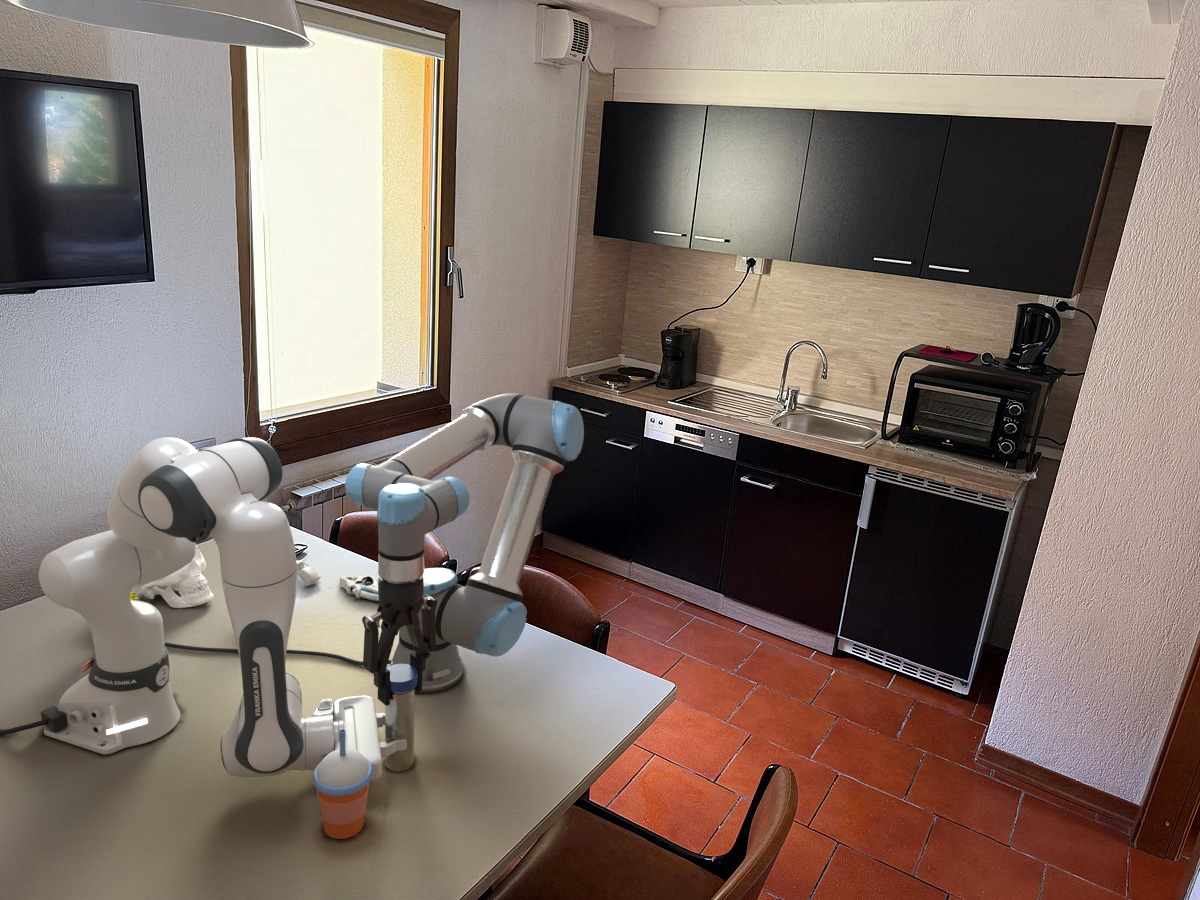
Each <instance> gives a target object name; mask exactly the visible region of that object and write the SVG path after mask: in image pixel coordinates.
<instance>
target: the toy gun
mask: <svg viewBox="0 0 1200 900" xmlns="http://www.w3.org/2000/svg"><path fill="white" fill-rule="evenodd" d="M338 583H339V586H340V587H341V588H343V589H345V590H346V593H347V594H348V595H354V596H355V598H356V599H361V598H362V599H365V600H369V601H375V602H379V597H378V580H376V578H375V577H374V576H372V575H369V574H368V575H362V576H361V575H360V576H350V577H345V576H340V577H339V581H338ZM367 583H370V584H369V585H366V584H367Z"/></svg>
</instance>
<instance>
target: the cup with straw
mask: <svg viewBox="0 0 1200 900" xmlns="http://www.w3.org/2000/svg"><path fill="white" fill-rule="evenodd" d="M372 774H373V769H372V765H371V763H370V762H369V760H368V759H366V758H365V757H364V756H363V755H362V754H361V753H360V752H358V751H356V750H354V749H350V748H346V738H345V730H344V729H342V730H340V749H337V750H334V751H332V752H331V753H329V754H328V755H327V756H325V757H324V759H323V760H322V761H321V762H320V763H319V764H318V766H317V767H316V768H315V770H313V774H312V782H313V785H314V787H315V789H316V791H317V800H318V807H319V812H320V817H321V819H322V825H323V826H322V827H323V830H324V833H325V834H326V836H328V837H330V838H331V839H336V840H344V839H348V838H352V837H354V836H355V835H357V834H358V833H360V831H362V829H363V827H364V823H365V814H366V811H367V806H368V797H369V788H370V787H369V786H370V782H371V781H370V780H371V778H372Z"/></svg>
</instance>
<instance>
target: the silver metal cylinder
mask: <svg viewBox="0 0 1200 900" xmlns="http://www.w3.org/2000/svg"><path fill="white" fill-rule="evenodd" d="M415 695H416V692H415V687H414V688H413V689H411V690H409V691H406V692H391V691H390V704H389V705H387V706H386V705H384V713H385V725H384V742H386V743H387V744H388V743H390V742H392V741H395V740H396V737H402V736H405V737H406V740H407V748H406V749H405V750H399V751H396V752H394V753H393V754H391V755H389V756H388V757H384V765H385V768H386V769H387V770H389V771H391V772H396V773H398V772H404V771H407V770H409V769H410V768H412V767H413V765H414V764H415V763H414V761H415V760H414V759H415V702H416V701H415V700H416V699H415V697H416V696H415Z"/></svg>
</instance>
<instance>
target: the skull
mask: <svg viewBox="0 0 1200 900" xmlns="http://www.w3.org/2000/svg"><path fill="white" fill-rule="evenodd" d="M204 570H207V563H206V560H205V557H204V556H203V553H202V552H201V550H200V548H199V546H198V545H197V544H196V551H195V555H194V558H193V560H192V561H191V562H190V563H189V564H187V565H186V566H184V567H183V568H181V569H179V570H178V571H176V572H174V573H172V574H171V575H169V576H167V577H164V578H161V579H158V580H156V581H153V582H150V583H147V584H145V585H142V586H139V587H137V588H138V590H139V591H140V592H141V594H142V595H145V597H149V600H153V599H154V598H155V596H161V597H162V599H163V600H164V601H165V602H166V603H167V604H168V606H169V607H171V608H174V609H183V608H185V609H186V608H193V607H196V605H197V606H199V605H203V604H207V603H208V602H211V601H212V600H213V599H214V593H213V592H212V591H211V589H210V586H209V585H208V583H209V582H208V580H207V579H206V577H205V576H204V574H202V572H203V571H204ZM172 588H173V589H172ZM175 591H176V592H178V593H179V595H180V596H179V595H177V594H176V592H175ZM169 604H172V605H169ZM178 605H192V606H178ZM194 605H195V606H194Z"/></svg>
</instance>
